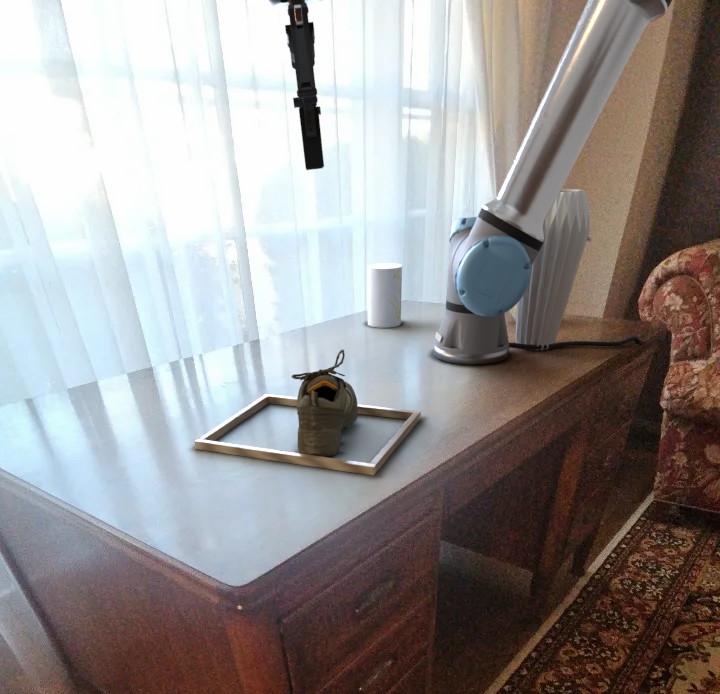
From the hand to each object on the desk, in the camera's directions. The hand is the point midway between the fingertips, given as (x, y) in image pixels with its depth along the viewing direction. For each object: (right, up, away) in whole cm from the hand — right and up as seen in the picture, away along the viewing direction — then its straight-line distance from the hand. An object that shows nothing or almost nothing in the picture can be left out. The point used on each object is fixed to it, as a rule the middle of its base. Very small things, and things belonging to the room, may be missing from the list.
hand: (314, 169), depth 89 cm
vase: (+45, -10, +34) cm, 57 cm away
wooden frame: (0, -42, -1) cm, 42 cm away
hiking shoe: (+2, -42, -1) cm, 42 cm away
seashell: (+48, +3, +49) cm, 69 cm away
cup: (+13, +4, +52) cm, 54 cm away
